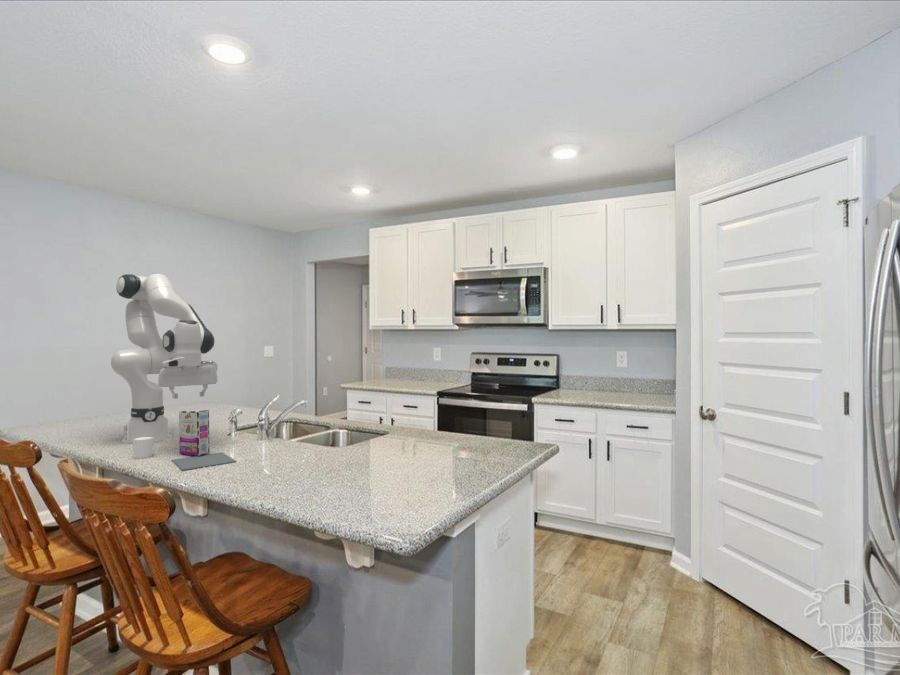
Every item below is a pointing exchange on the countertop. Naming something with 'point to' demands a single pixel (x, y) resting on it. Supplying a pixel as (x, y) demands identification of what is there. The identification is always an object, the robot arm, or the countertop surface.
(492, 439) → the countertop surface
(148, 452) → the white cylinder
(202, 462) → the mat
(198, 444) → the candy bar box
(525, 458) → the countertop surface
